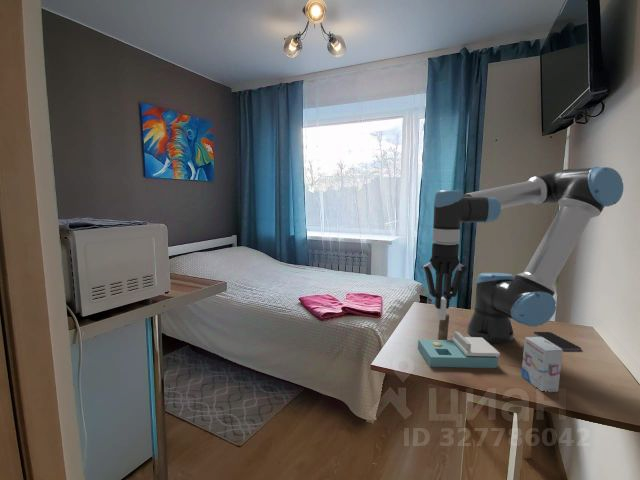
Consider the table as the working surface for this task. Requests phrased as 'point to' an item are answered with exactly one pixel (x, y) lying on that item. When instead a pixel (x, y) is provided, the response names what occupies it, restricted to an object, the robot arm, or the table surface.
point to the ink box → (542, 363)
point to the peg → (443, 328)
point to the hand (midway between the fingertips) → (441, 318)
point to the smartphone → (558, 341)
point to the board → (452, 355)
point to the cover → (474, 346)
